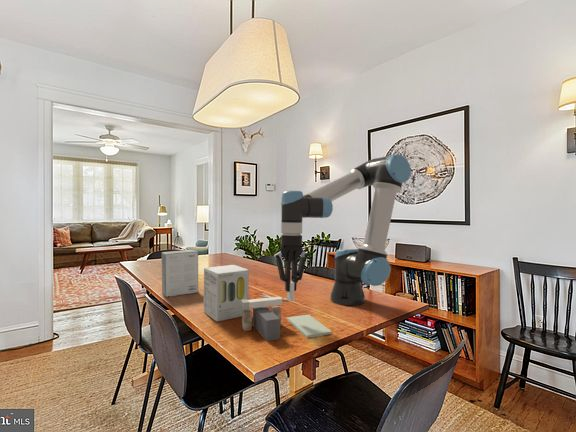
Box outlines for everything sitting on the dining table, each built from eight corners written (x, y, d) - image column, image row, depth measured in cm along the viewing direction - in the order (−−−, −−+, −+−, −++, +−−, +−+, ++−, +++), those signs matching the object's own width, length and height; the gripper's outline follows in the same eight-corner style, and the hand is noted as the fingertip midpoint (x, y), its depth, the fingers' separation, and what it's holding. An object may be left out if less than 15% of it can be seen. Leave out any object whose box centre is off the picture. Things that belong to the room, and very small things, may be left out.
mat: (308, 316, 115) (308, 314, 115) (331, 333, 99) (331, 331, 99) (286, 319, 111) (286, 317, 111) (306, 337, 96) (306, 335, 96)
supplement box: (216, 322, 108) (216, 273, 108) (203, 312, 119) (203, 267, 119) (249, 315, 116) (249, 269, 116) (234, 305, 127) (234, 264, 126)
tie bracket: (277, 322, 109) (278, 305, 108) (280, 325, 106) (281, 308, 106) (242, 327, 104) (242, 310, 104) (244, 330, 101) (244, 312, 101)
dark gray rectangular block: (265, 323, 108) (265, 305, 108) (280, 339, 95) (280, 318, 95) (252, 325, 106) (253, 307, 106) (266, 341, 93) (266, 320, 93)
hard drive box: (194, 289, 153) (194, 249, 152) (198, 292, 146) (198, 251, 146) (161, 293, 144) (161, 251, 144) (164, 297, 138) (164, 253, 137)
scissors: (281, 304, 128) (249, 295, 141) (281, 306, 128) (249, 296, 141) (297, 299, 136) (266, 290, 149) (297, 301, 136) (266, 292, 149)
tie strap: (279, 302, 109) (279, 295, 109) (282, 305, 106) (282, 298, 106) (240, 306, 104) (240, 299, 104) (243, 310, 100) (243, 302, 100)
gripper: (303, 233, 114) (302, 295, 115) (270, 233, 109) (269, 299, 110) (312, 234, 107) (311, 301, 108) (278, 235, 102) (277, 305, 103)
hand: (290, 300), depth 109 cm, fingers closed
